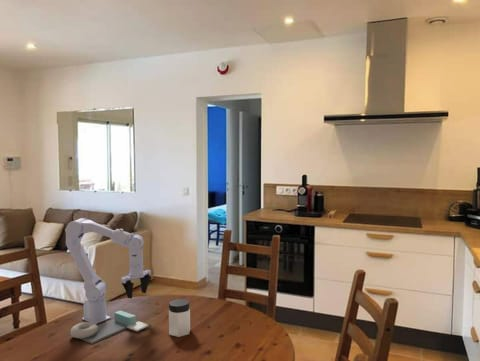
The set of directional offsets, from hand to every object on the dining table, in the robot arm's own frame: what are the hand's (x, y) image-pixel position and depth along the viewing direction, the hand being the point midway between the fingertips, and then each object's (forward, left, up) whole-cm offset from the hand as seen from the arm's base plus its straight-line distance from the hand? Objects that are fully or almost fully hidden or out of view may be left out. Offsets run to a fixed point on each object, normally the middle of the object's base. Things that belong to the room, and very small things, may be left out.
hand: (137, 295), depth 169 cm
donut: (+1, -22, -8) cm, 24 cm away
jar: (+24, +1, -11) cm, 26 cm away
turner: (+3, -7, -10) cm, 12 cm away
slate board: (-1, -14, -10) cm, 18 cm away
